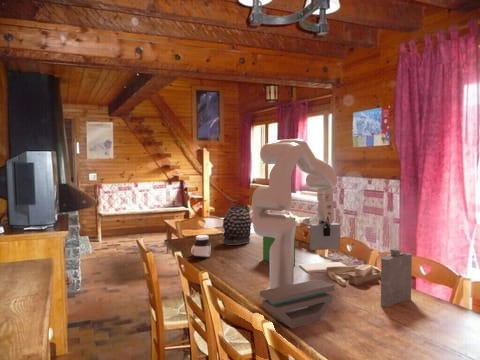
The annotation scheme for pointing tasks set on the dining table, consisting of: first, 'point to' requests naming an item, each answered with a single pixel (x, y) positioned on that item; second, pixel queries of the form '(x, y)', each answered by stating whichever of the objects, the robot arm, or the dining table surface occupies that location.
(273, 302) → the sharpening stone
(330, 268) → the rack
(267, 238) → the hardback book
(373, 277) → the walnut offcut
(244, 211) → the bumpy dark dome
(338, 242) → the grey rectangular block
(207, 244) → the spread jar
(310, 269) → the felt mat
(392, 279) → the hip flask
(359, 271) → the pine offcut
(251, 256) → the dining table surface
